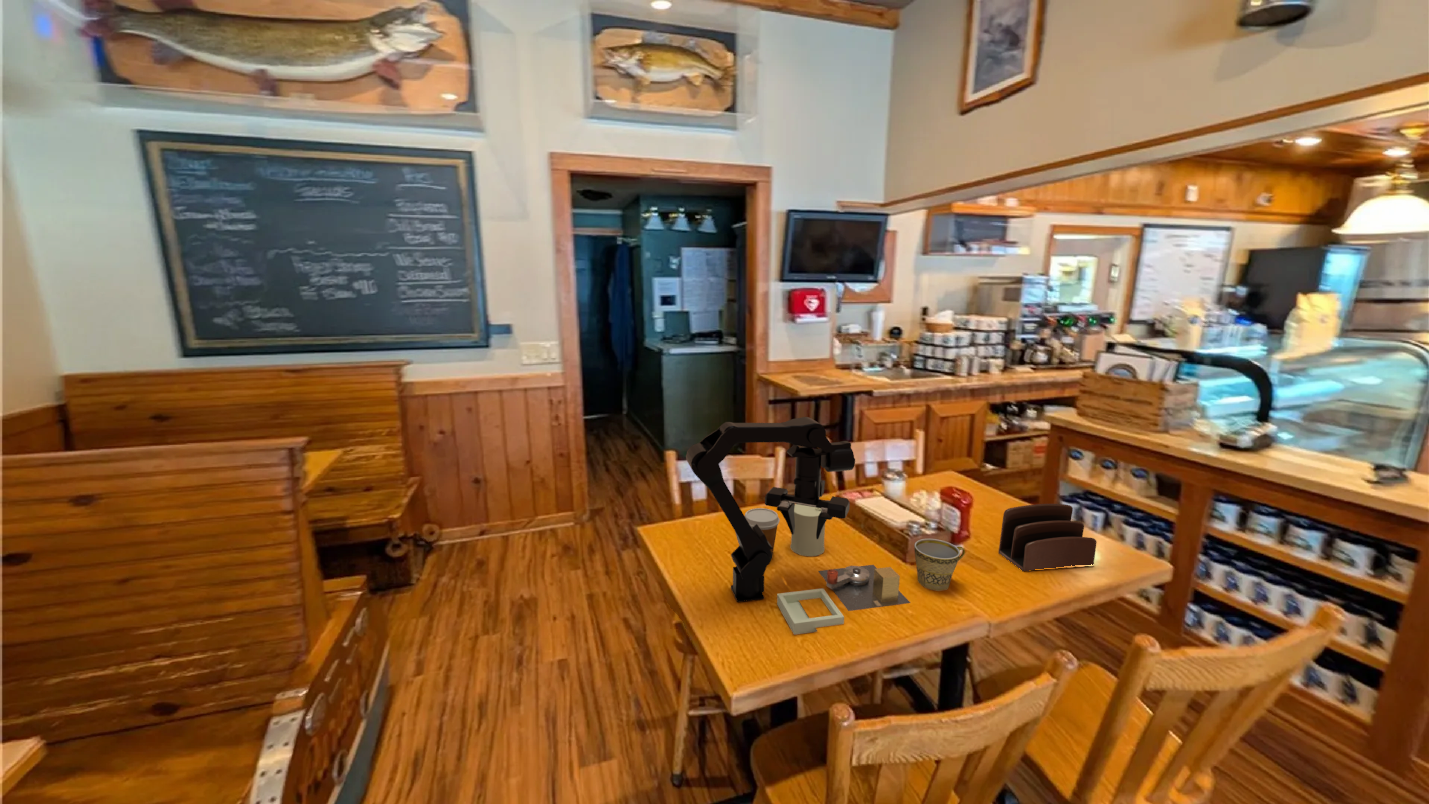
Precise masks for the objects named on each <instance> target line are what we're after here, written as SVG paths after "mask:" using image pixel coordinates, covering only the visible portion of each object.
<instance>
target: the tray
mask: <svg viewBox="0 0 1429 804" xmlns="http://www.w3.org/2000/svg"><path fill="white" fill-rule="evenodd" d="M776 594H777V596H776V601H777V602H776V605H777V606H778V608H779V610H780V612H781V614H782V616H783V618H784V619H785V621H786V623H787V625H788V627H789V628H790V630H791V632H792V634H793V635H795V636H796V635H802V634H809V633H816V632H817V633H818V629H817V628H822V627H824V628H825V627H830V626H831V627H832V626H839V625H844V623H845V616H844V615H843V613H842V612H841V611H840V609H839V607H837V605H836V603H834V601H833V600H832V599H831V597H830V596H829V594H828V592H827V591H826V590H825V588H815V589H806V590H799V591H790V592H789V591H788V592H781V593H776ZM813 599H821V601H822V602H823V604H824V605H825V606H826V607H827V609H828V610H829V612H830V614H831V615H826V616H825V615H824V616H818V617H816V616H815V617H809V615H808V613H807V612H806V610H805V609H804V607H803V606H802V604H801V602H800V601H804V600H813Z"/></svg>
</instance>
